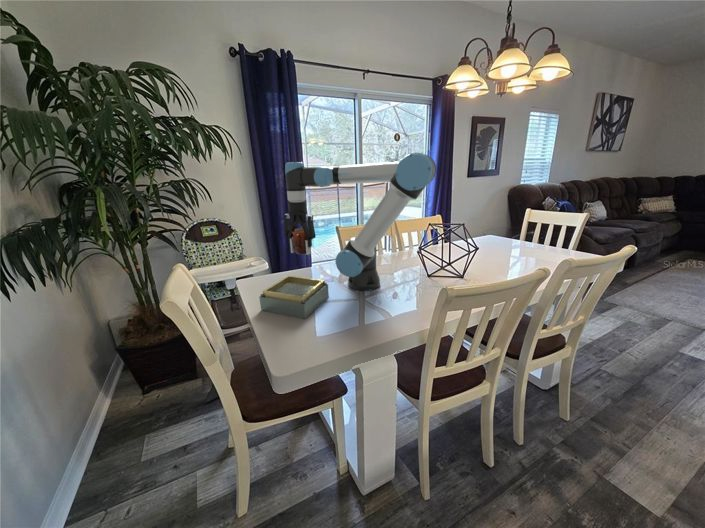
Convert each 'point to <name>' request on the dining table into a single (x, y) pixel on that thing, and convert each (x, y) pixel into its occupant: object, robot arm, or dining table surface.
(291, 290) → the yellow rimmed grey box
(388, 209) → the robot arm
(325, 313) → the dining table surface
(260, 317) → the dining table surface
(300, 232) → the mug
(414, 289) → the dining table surface
